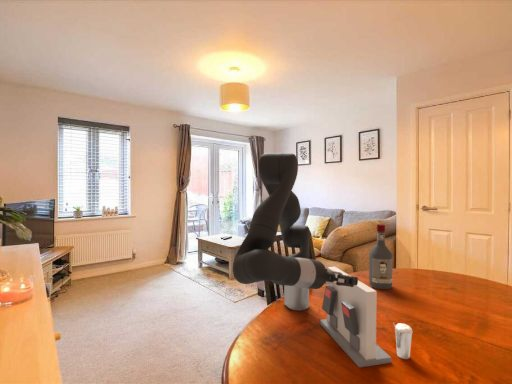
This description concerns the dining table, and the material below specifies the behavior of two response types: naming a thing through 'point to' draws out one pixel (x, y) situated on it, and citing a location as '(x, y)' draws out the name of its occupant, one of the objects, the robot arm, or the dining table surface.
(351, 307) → the rocker outlet
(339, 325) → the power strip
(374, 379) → the dining table surface
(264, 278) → the robot arm
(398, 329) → the milkshake
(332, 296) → the rocker outlet
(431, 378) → the dining table surface
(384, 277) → the liquor
